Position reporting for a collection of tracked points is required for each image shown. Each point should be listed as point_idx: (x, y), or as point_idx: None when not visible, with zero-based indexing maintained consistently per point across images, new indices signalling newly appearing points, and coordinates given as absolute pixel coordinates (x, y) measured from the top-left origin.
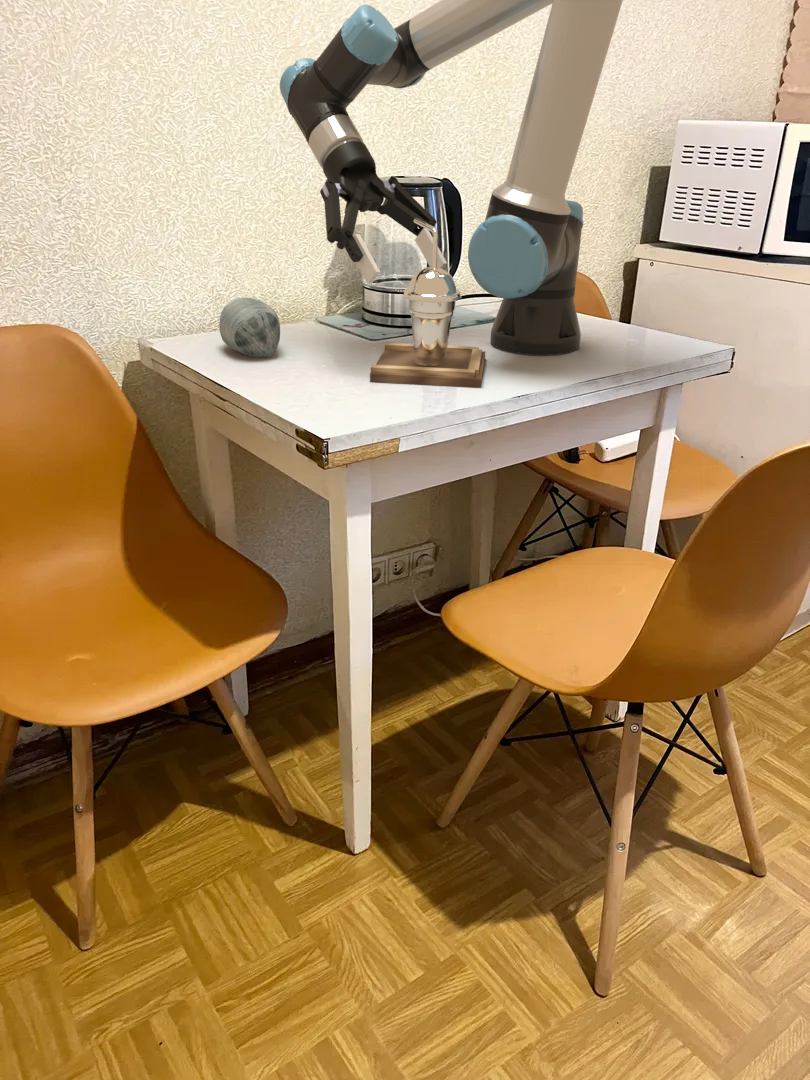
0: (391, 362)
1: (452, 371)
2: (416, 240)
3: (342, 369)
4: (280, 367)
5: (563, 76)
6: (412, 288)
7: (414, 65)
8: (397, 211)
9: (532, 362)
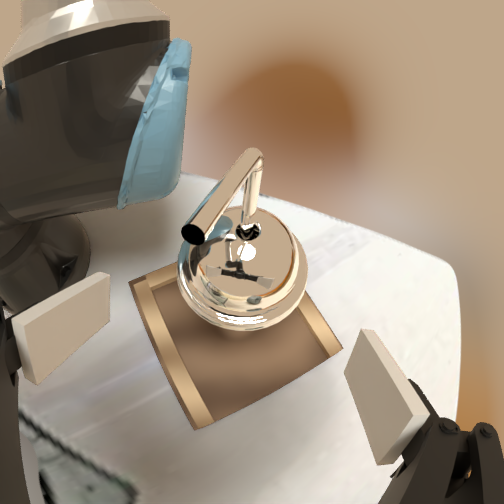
0: (275, 364)
1: None
2: (39, 377)
3: (318, 424)
4: (366, 485)
5: None
6: (297, 277)
7: None
8: (3, 452)
9: (119, 233)
